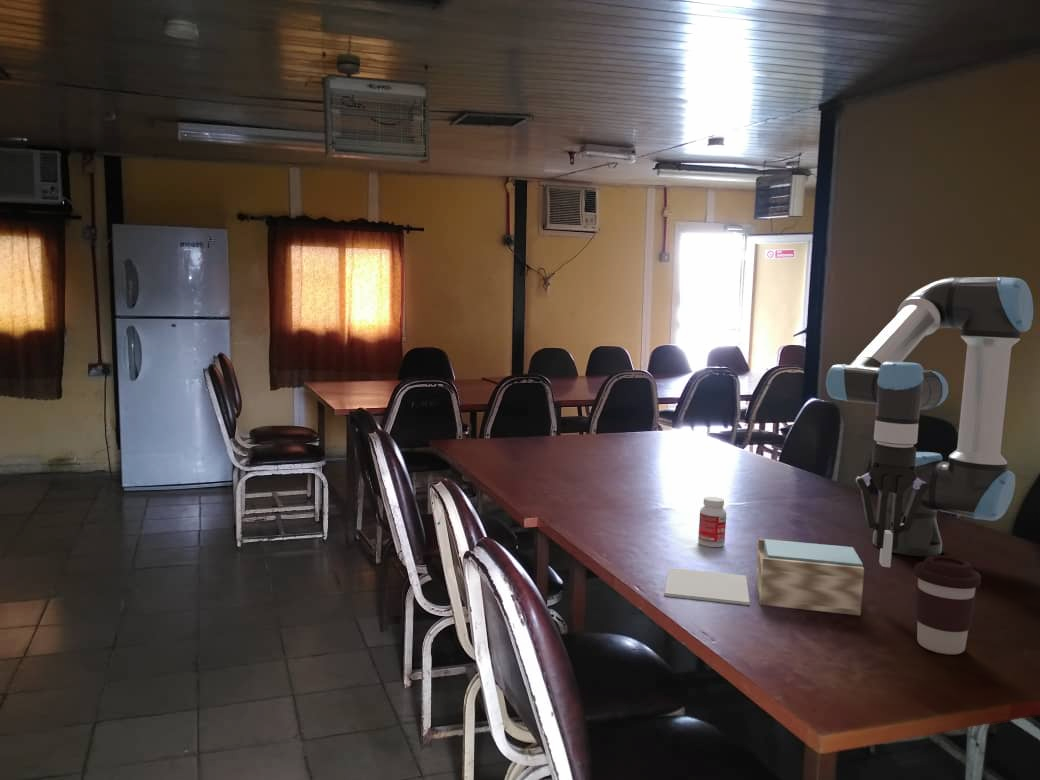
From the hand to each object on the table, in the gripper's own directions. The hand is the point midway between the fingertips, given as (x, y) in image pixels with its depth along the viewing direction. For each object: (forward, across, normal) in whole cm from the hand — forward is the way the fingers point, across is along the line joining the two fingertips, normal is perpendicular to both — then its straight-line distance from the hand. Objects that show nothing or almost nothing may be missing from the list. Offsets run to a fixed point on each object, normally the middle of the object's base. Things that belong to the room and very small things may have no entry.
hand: (884, 564), depth 158 cm
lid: (+1, +14, 0) cm, 14 cm away
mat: (+8, +33, 0) cm, 34 cm away
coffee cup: (+8, -6, +18) cm, 21 cm away
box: (+8, +14, 0) cm, 16 cm away
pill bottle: (+8, +32, -31) cm, 45 cm away
